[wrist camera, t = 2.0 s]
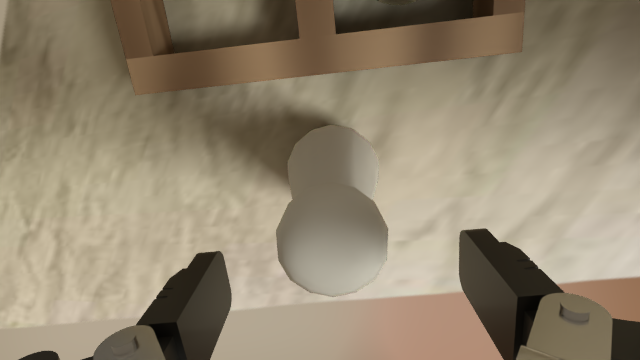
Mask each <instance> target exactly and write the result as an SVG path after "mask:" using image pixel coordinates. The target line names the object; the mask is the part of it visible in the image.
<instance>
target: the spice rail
mask: <svg viewBox="0 0 640 360" xmlns="http://www.w3.org/2000/svg"><path fill="white" fill-rule="evenodd" d="M295 3H296V12H297V20H298V29H299V37H300V39H293V40H284V41H276V42H268V43H259V44H251V45H242V46H234V47H226V48H217V49H209V50H200V51H192V52H183V53H174V49H173V44H172V40H171V35H170V31H169V26H168V22H167V17H166V13H165V8H164V4H163V0H111V4H112V8H113V12H114V16H115V19H116V23H117V27H118V31H119V35H120V38H121V42H122V46H123V50H124V54H125V57H126V61H127V65H128V69H129V73H130V76H131V80H132V84H133V88H134V92H135V95H140V94H149V93H158V92H167V91H176V90H185V89H194V88H203V87H212V86H221V85H230V84H239V83H248V82H257V81H266V80H275V79H284V78H293V77H302V76H311V75H320V74H329V73H338V72H347V71H356V70H365V69H374V68H382V67H391V66H400V65H409V64H418V63H427V62H436V61H445V60H454V59H463V58H472V57H481V56H490V55H499V54H508V53H517V52H522V43H523V28H524V12H525V0H473V18H470V19H461V20H453V21H444V22H436V23H427V24H419V25H411V26H402V27H394V28H385V29H377V30H369V31H360V32H352V33H343V34H336V31H335V19H334V8H333V0H295Z"/></svg>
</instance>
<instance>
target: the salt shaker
mask: <svg viewBox="0 0 640 360" xmlns="http://www.w3.org/2000/svg"><path fill="white" fill-rule="evenodd" d="M287 164H288V178H289V185H290V190H291V194H292V199H293V200H292V201H291V202H290V203H289V204H288V206H287V208H286V210H285V212H284V215H283V217H282V219H281V221H280V223H279V225H278V228H277V230H276V236H277V248H278V259H279V262H280V264H281V266H282V267H283V269H284V270H285V272H286V274H287V275H288V277H289V279H290V280H291V281H293V282H294V283H296V284H297V285H299V286H301V287H302V288H304V289H305V290H307V291H308V292H310V293H316V294H321V295H326V296H331V297H335V296H340V295H345V294H350V293H355V292H357V291H359V290H360V289H362V288H363V287H365V286H366V285H368V284H369V283H371V282H372V281H374V280H375V279H376V278H377V276H378V274H379V272H380V271H381V269H382V267H383V265H384V264H385V262H386V260H387V242H388V228H387V225H386V223H385V221H384V219H383V217H382V215H381V214H380V212H379V210H378V208H377V206H376V204H375V202H374V201H373V198H374V194H375V190H376V186H377V182H378V169H379V160H378V158H377V156H376V154H375V152H374V150H373V148H372V146H371V144H370V142H369V141H368V140H367V139H365V138H364V137H363V136H361V135H360V134H359V133H358V132H356V131H355V130H354V129H352V128H347V127H342V126H337V125H328V126H324V127H320V128H316V129H312V130H311V131H310V132H308V133H307V134H306V135H305V136H304V137H303V138H301V139H300V140H299V141H298V142H297V143H296V144H295V146H294V148H293V150H292V153H291V155H290V157H289V160H288V162H287Z"/></svg>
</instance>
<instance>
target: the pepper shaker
mask: <svg viewBox="0 0 640 360" xmlns="http://www.w3.org/2000/svg"><path fill="white" fill-rule="evenodd" d="M378 1H380V2H382V3H385V4H389V5H405V4H409V3H412V2H415V1H417V0H378Z"/></svg>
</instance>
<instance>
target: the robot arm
mask: <svg viewBox="0 0 640 360" xmlns="http://www.w3.org/2000/svg"><path fill="white" fill-rule="evenodd" d="M459 276H460V282H461V286H462V289H463V291H464V293H465V295H466V296H467V298H468V300H469V301H470V303H471V305H472V306H473V308H474V310H475V312H476V313H477V315H478V317H479V318H480V320H481V322H482V323H483V325H484V327H485V329H486V330H487V332H488V334H489V335H490V337H491V339H492V340H493V342H494V344H495V346H496V347H497V349H498V351H499V352H500V354H501V356H502V358H503V359H504V360H640V322H635V321H627V320H619V319H613V318H612V317H611V315H610V314H609V312H608V311H607V310H606V309H605V308H603V307H602V306H601V305H599V304H598V303H596V302H594V301H592V300H590V299H588V298H585V297H582V296H579V295H574V294H569V293H564V292H563V291H562V290H561V289H560V288H559V287H558V286H557V285H556V284H555V283H554V282H553V281H552V280H551V279H550V278H549V277H548V276H547V275H546V274H545V273H544V272H543V271H542V270H541V269H538V266H537V265H536V264H535V263H534V262H533V261H530V258H529V257H528V256H527V255H526V254H525V253H524V252H523V251H521V250H520V249H519V248H517V247H515V246H513V245H511V244H509V243H507V242H499V241H498V240H497V239H496V238H495V237H494V236H493V235H492V234H491V233H490V232H489V231H488V230H487V229H485V228H484V229H473V230H462V231H461V233H460V242H459ZM230 307H231V288H230V284H229V279H228V275H227V270H226V265H225V261H224V257H223V254H222V253H221V252H220V251H216V252H205V253H198V254H197V255H196V256H195V257H194V259H193V260H192V262H191V263H190V265H189V266H188V268H186V269H182V270H180V271H179V272H178V273H176V274H175V275H174V276H172V277H171V278H170V279H169V280H168V282H167V283H166V285H165V286H164V287H163V290H161V291H160V293H159V294H158V295H157V297H156V299H155V300H154V301H153V302H152V304H151V305H150V306H149V308H148V309H147V310H146V312H145V313H144V315H143V316H142V317H141V319H140V320H139V321H138V323H137V324H136V326H131V327H127V328H125V329H122V330H120V331H118V332H116V333H114V334H112V335H111V336H109V337H108V338H107V339H105V340H104V341H103V342H102V343H101V344H100V345H99V346H98V347H97V349H96V350H95V352H94V355H93V356H92V357H89V358H86V359H82V360H210V358H211V355H212V353H213V350H214V348H215V345H216V343H217V340H218V338H219V335H220V333H221V330H222V328H223V325H224V323H225V320H226V318H227V315H228V313H229V310H230ZM19 360H60V359H59V356H58V354H57V353H56V352H53V351H41V352H37V353H33V354H30V355H28V356H25V357H23V358H21V359H19Z"/></svg>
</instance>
